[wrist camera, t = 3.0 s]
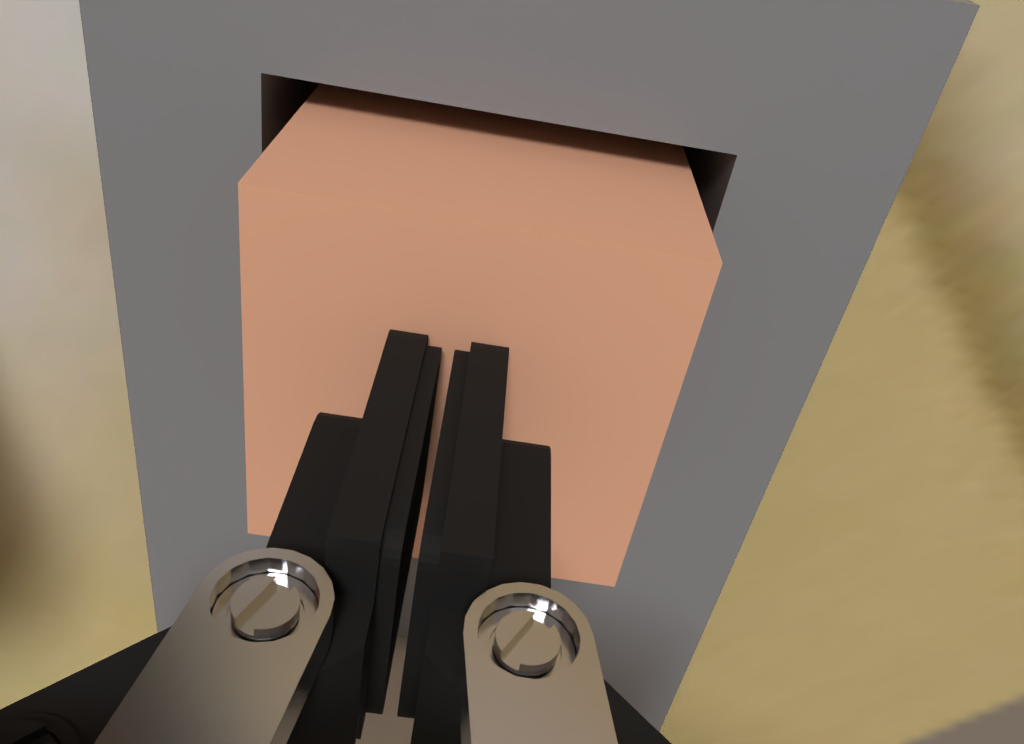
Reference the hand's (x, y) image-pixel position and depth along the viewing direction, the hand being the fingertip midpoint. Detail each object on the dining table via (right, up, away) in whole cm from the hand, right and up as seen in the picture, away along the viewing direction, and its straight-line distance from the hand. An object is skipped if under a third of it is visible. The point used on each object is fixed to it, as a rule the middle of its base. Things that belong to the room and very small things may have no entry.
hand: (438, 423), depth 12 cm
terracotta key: (+1, +4, +5) cm, 6 cm away
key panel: (0, 0, +10) cm, 11 cm away
